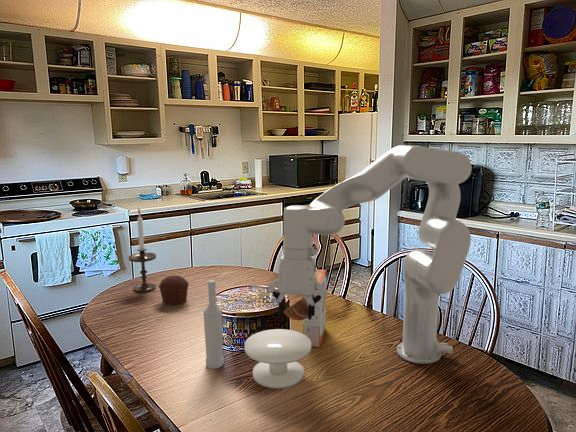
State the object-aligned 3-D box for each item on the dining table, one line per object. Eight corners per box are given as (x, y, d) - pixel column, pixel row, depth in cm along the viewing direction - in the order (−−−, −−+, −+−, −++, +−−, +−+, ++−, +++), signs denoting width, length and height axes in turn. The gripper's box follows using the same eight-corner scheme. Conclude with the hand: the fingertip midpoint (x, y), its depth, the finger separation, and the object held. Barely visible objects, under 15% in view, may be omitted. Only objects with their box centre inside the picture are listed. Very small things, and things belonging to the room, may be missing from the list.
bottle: (208, 371, 125) (205, 285, 120) (203, 362, 129) (199, 279, 124) (226, 366, 127) (223, 282, 122) (220, 358, 131) (217, 277, 127)
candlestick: (153, 293, 184) (147, 209, 178) (127, 293, 184) (120, 209, 178) (161, 284, 195) (156, 205, 188) (136, 284, 195) (130, 205, 188)
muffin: (195, 299, 177) (194, 275, 175) (175, 309, 168) (173, 283, 166) (174, 293, 183) (173, 270, 182) (153, 302, 174) (151, 278, 172)
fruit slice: (300, 327, 116) (300, 309, 115) (277, 322, 119) (278, 304, 118) (314, 316, 123) (314, 299, 122) (292, 311, 126) (292, 294, 125)
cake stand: (316, 361, 129) (316, 332, 128) (304, 397, 112) (304, 364, 110) (256, 354, 133) (256, 326, 132) (236, 388, 116) (235, 356, 114)
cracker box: (321, 348, 137) (321, 283, 133) (301, 346, 138) (301, 282, 134) (326, 328, 150) (327, 269, 147) (308, 327, 152) (309, 268, 148)
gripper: (332, 251, 119) (330, 314, 122) (269, 246, 123) (269, 308, 126) (328, 259, 112) (326, 325, 115) (261, 254, 116) (261, 318, 119)
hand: (296, 315), depth 121 cm, fingers closed on fruit slice, 7 cm apart
